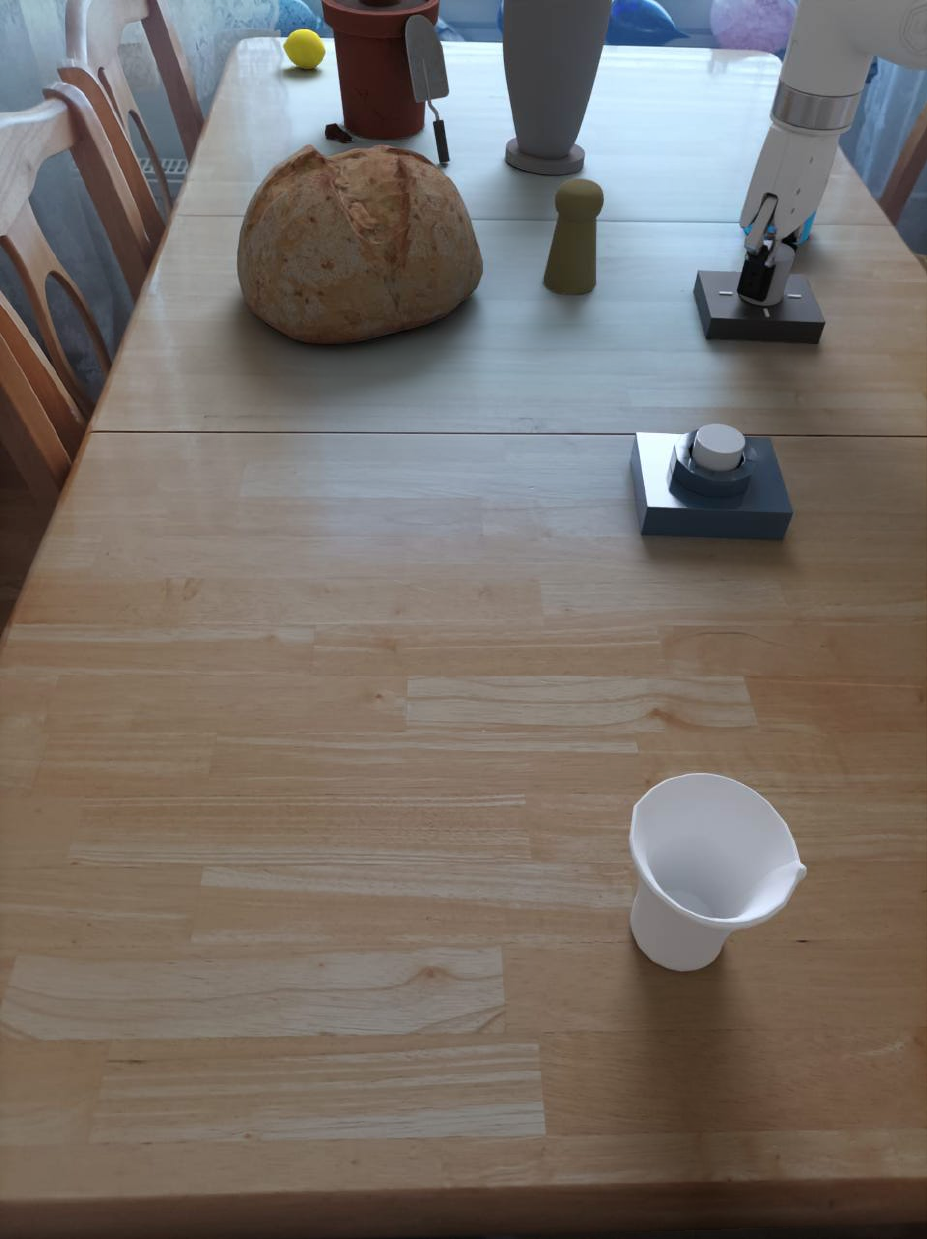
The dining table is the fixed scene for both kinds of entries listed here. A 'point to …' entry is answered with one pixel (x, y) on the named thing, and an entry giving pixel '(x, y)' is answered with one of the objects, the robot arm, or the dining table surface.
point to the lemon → (304, 48)
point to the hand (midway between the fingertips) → (762, 285)
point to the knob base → (757, 311)
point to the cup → (706, 867)
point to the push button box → (708, 491)
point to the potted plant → (387, 68)
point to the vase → (551, 78)
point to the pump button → (718, 447)
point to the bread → (356, 245)
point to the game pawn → (574, 238)
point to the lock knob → (777, 275)
